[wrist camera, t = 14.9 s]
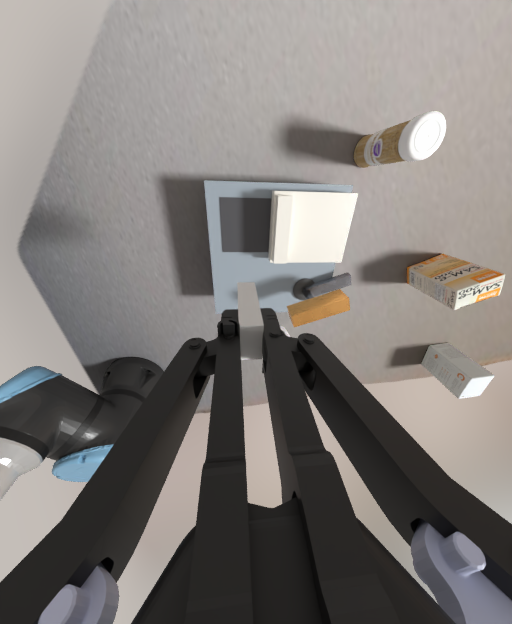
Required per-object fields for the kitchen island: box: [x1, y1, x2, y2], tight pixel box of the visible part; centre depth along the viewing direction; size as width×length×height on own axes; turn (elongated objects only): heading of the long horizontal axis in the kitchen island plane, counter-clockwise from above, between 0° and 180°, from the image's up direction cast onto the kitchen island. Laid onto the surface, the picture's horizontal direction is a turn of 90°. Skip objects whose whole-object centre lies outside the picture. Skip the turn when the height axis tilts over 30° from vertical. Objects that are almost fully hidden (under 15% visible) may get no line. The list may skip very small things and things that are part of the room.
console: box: [204, 180, 353, 314], centre depth 39 cm, size 22×22×8 cm
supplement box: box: [407, 254, 505, 310], centre depth 43 cm, size 8×5×13 cm, turn 112°
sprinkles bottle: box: [354, 111, 446, 168], centre depth 30 cm, size 5×5×13 cm
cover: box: [268, 191, 358, 264], centre depth 31 cm, size 12×10×4 cm
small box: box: [421, 343, 494, 398], centre depth 59 cm, size 8×6×13 cm
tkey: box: [287, 273, 351, 327], centre depth 35 cm, size 2×12×8 cm, turn 108°
